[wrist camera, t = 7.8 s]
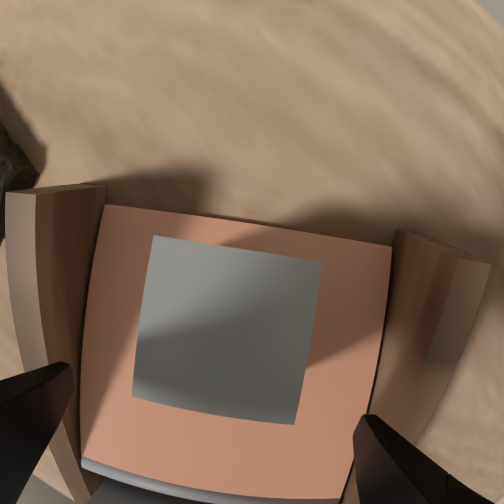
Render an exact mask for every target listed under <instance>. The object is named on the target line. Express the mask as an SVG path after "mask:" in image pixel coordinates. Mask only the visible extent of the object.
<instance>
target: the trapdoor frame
mask: <svg viewBox="0 0 504 504" xmlns="http://www.w3.org/2000/svg"><path fill="white" fill-rule="evenodd" d="M105 198H106V186H99V185H88V184H71V185H60V186H51V187H42V188H33V189H25V190H17V191H10V192H6V195H5V240H6V259H7V272H8V282H9V291H10V299H11V306H12V313H13V319H14V325H15V331H16V336H17V341H18V346H19V350H20V355H21V359H22V363H23V367H24V371H25V372H28V371H31V370H34V369H38V368H41V367H44V366H47V365H49V364H52V363H55V362H58V361H63V362H66V363H68V364H70V365H71V366H72V368H73V373H74V378H75V384H76V388H75V392H74V394H73V396H72V398H71V400H70V403H69V405H68V407H67V409H66V411H65V414H64V416H63V418H62V420H61V422H60V425H59V426H58V428H57V430H56V432H55V434H54V435H53V437H52V439H51V440H50V442H49V444H48V445H49V447H50V450H51V452H52V454H53V457H54V459H55V461H56V463H57V466H58V468H59V470H60V472H61V474H62V477H63V479H64V481H65V483H66V485H67V487H68V489H69V491H70V493H71V495H72V496H73V498H74V500H75V502H76V504H86V502H87V501H88V500H89V499H90V497H91V496H92V495H93V494H94V492H95V491H96V490H97V489H98V487H99V486H100V485H101V484H102V482H103V481H104V480H105V479H106V476H103V475H100V474H97V473H95V472H92V471H89V470H87V469H84V468H82V466H81V460H82V456H81V436H80V383H81V361H82V346H83V335H84V324H85V315H86V306H87V299H88V291H89V284H90V278H91V271H92V265H93V260H94V254H95V249H96V243H97V238H98V233H99V229H100V224H101V219H102V215H103V211H104V206H105ZM491 266H492V265H491V264H489V263H487V262H485V261H483V260H481V259H478V258H476V257H474V256H472V255H470V254H468V253H465V252H463V251H461V250H459V249H456V248H454V247H452V246H450V245H447V244H445V243H443V242H440V241H438V240H436V239H433V238H431V237H428V236H426V235H422V234H417V233H413V232H408V231H403V230H398V229H397V230H396V234H395V239H394V244H393V248H392V255H391V267H390V277H389V286H388V295H387V303H386V310H385V318H384V324H383V331H382V337H381V343H380V349H379V355H378V360H377V365H376V370H375V375H374V380H373V385H372V389H371V394H370V398H369V402H368V407H367V411H366V414H376V415H377V416H378V417H380V418H381V419H382V420H383V421H384V422H386V423H387V424H388V425H389V426H390V427H392V428H393V429H394V430H395V431H397V432H398V433H399V434H400V435H401V436H403V437H404V438H405V439H406V440H408V441H409V442H410V443H411V444H412V445H414V444H415V443H416V441H417V439H418V438H419V436H420V434H421V433H422V431H423V429H424V428H425V426H426V424H427V422H428V421H429V419H430V417H431V415H432V414H433V412H434V410H435V408H436V406H437V404H438V402H439V400H440V399H441V397H442V395H443V393H444V391H445V389H446V387H447V385H448V383H449V380H450V378H451V376H452V374H453V372H454V370H455V367H456V365H457V363H458V361H459V358H460V356H461V354H462V351H463V349H464V347H465V344H466V342H467V339H468V336H469V334H470V331H471V329H472V326H473V323H474V320H475V318H476V315H477V312H478V309H479V306H480V303H481V300H482V297H483V294H484V290H485V287H486V284H487V280H488V277H489V273H490V269H491ZM338 504H360V500H359V495H358V490H357V484H356V478H355V465H354V458H353V461H352V465H351V468H350V471H349V474H348V477H347V480H346V483H345V486H344V489H343V492H342V494H341V497H340V500H339V503H338Z"/></svg>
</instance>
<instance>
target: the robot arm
mask: <svg viewBox="0 0 504 504" xmlns="http://www.w3.org/2000/svg"><path fill="white" fill-rule="evenodd" d="M75 388H76V384H75V378H74V373H73V368H72V366H71V365H70V364H68V363H66V362H63V361H58V362H55V363H52V364H49V365H47V366H44V367H41V368H38V369H34V370H31V371H28V372H25V373H22V374H19V375H16V376H13V377H10V378H7V379H4V380H0V504H16V502H17V501H18V499H19V497H20V495H21V493H22V491H23V489H24V487H25V485H26V483H27V481H28V480H29V477H30V476H31V474H32V472H33V470H34V469H35V467H36V465H37V463H38V461H39V460H40V458H41V456H42V454H43V453H44V451H45V449H46V447H47V446H48V444H49V442H50V440H51V439H52V437H53V435H54V434H55V432H56V430H57V428H58V426H59V425H60V422H61V420H62V418H63V416H64V414H65V411H66V409H67V407H68V405H69V403H70V400H71V398H72V396H73V394H74V392H75ZM353 451H354V465H355V478H356V484H357V490H358V495H359V500H360V504H495V503H493V502H491V501H490V500H488V499H486V498H484V497H483V496H481V495H479V494H478V493H476V492H475V491H473V490H471V489H470V488H468V487H467V486H465V485H464V484H463V483H461V482H460V481H458V480H457V479H456V478H454V477H453V476H452V475H451V474H448V472H447V471H445V470H444V469H443V468H441V467H440V466H439V465H438V464H436V463H435V462H434V461H432V460H431V459H430V458H429V457H427V456H426V455H425V454H424V453H422V452H421V451H420V450H419V449H417V448H416V447H415V446H414V445H412V444H411V443H410V442H409V441H408V440H406V439H405V438H404V437H403V436H401V435H400V434H399V433H398V432H397V431H395V430H394V429H393V428H392V427H390V426H389V425H388V424H387V423H386V422H384V421H383V420H382V419H381V418H380V417H378V416H377V415H376V414H363V415H362V416H361V418H360V420H359V422H358V424H357V426H356V428H355V430H354V433H353Z"/></svg>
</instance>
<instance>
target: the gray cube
mask: <svg viewBox="0 0 504 504" xmlns="http://www.w3.org/2000/svg"><path fill="white" fill-rule="evenodd" d="M321 270H322V262H321V261H315V260H309V259H302V258H296V257H290V256H283V255H277V254H271V253H264V252H258V251H251V250H245V249H239V248H232V247H226V246H220V245H213V244H207V243H201V242H194V241H188V240H181V239H175V238H169V237H162V236H156V235H154V237H153V242H152V247H151V252H150V258H149V263H148V269H147V275H146V281H145V287H144V293H143V300H142V306H141V313H140V321H139V328H138V336H137V345H136V353H135V363H134V373H133V384H132V397H136V398H139V399H143V400H147V401H151V402H155V403H159V404H163V405H167V406H172V407H176V408H181V409H186V410H190V411H195V412H201V413H206V414H212V415H217V416H223V417H230V418H236V419H243V420H251V421H259V422H267V423H277V424H288V425H294V424H295V420H296V415H297V410H298V406H299V401H300V396H301V391H302V386H303V381H304V376H305V370H306V365H307V359H308V354H309V348H310V342H311V337H312V331H313V324H314V318H315V312H316V305H317V299H318V292H319V285H320V277H321Z"/></svg>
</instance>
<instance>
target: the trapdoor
mask: <svg viewBox="0 0 504 504" xmlns="http://www.w3.org/2000/svg"><path fill="white" fill-rule="evenodd" d="M154 235H156V236H162V237H169V238H175V239H181V240H188V241H194V242H201V243H207V244H213V245H220V246H226V247H232V248H239V249H245V250H251V251H258V252H264V253H271V254H277V255H283V256H290V257H296V258H302V259H309V260H315V261H321V262H322V270H321V277H320V285H319V292H318V299H317V305H316V312H315V318H314V324H313V331H312V337H311V342H310V348H309V354H308V359H307V365H306V370H305V376H304V381H303V386H302V391H301V396H300V401H299V406H298V410H297V415H296V420H295V424H294V425H288V424H277V423H267V422H259V421H251V420H243V419H236V418H230V417H223V416H217V415H212V414H206V413H201V412H195V411H190V410H186V409H181V408H176V407H172V406H167V405H163V404H159V403H155V402H151V401H147V400H143V399H139V398H136V397H132V384H133V373H134V363H135V353H136V345H137V336H138V328H139V321H140V313H141V306H142V300H143V293H144V287H145V281H146V275H147V269H148V263H149V258H150V252H151V247H152V242H153V237H154ZM391 255H392V247H390V246H384V245H379V244H373V243H367V242H362V241H356V240H350V239H344V238H338V237H332V236H326V235H320V234H314V233H308V232H302V231H296V230H289V229H283V228H277V227H270V226H264V225H257V224H250V223H244V222H237V221H230V220H223V219H216V218H209V217H202V216H195V215H188V214H180V213H173V212H165V211H158V210H150V209H142V208H134V207H126V206H118V205H110V204H105V206H104V211H103V215H102V219H101V224H100V229H99V233H98V238H97V243H96V249H95V254H94V260H93V265H92V271H91V278H90V284H89V291H88V299H87V306H86V315H85V324H84V335H83V346H82V361H81V383H80V436H81V456H82V460H81V466H82V468H84V469H87V470H89V471H92V472H95V473H97V474H100V475H103V476H106V479H105V480H104V481H103V482H102V484H101V485H100V486H99V487H98V489H97V490H96V491H95V492H94V494H93V495H92V496H91V497H90V499H89V500H88V501H87V502H86V504H338V503H339V500H340V497H341V494H342V492H343V489H344V486H345V483H346V480H347V477H348V474H349V471H350V468H351V465H352V461H353V458H354V451H353V433H354V430H355V428H356V426H357V424H358V422H359V420H360V418H361V416H362V415H363V414H366V411H367V407H368V402H369V398H370V394H371V389H372V385H373V380H374V375H375V370H376V365H377V360H378V355H379V349H380V343H381V337H382V331H383V324H384V318H385V310H386V303H387V295H388V286H389V277H390V267H391Z"/></svg>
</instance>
